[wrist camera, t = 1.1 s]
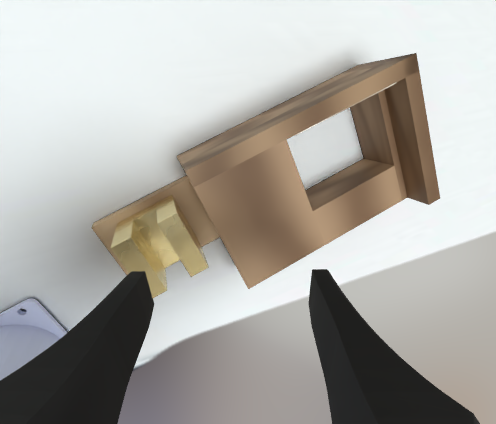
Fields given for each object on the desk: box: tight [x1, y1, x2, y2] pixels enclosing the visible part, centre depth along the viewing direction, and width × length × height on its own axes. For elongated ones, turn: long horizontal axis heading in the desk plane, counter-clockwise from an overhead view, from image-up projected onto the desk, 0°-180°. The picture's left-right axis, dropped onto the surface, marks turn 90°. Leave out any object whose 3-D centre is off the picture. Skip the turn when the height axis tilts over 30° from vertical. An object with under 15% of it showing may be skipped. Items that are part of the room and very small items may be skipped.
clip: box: [111, 195, 208, 298], centre depth 20 cm, size 4×4×4 cm
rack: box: [92, 53, 440, 289], centre depth 21 cm, size 22×10×6 cm, turn 113°
